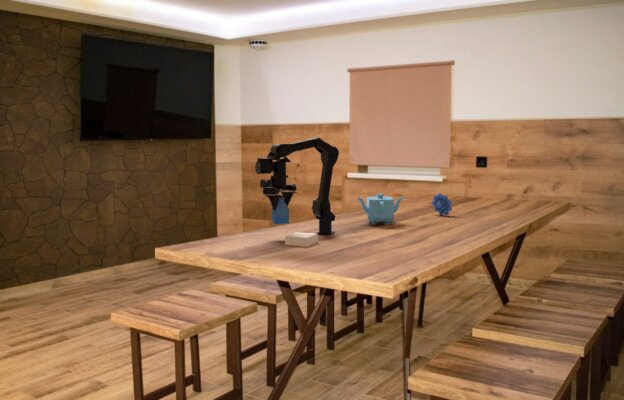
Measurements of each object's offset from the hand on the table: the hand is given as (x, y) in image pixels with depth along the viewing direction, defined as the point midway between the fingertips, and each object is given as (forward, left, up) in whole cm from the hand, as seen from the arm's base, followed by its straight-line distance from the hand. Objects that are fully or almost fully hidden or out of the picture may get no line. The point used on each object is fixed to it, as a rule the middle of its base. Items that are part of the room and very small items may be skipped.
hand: (280, 209), depth 258 cm
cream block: (+6, +14, -13) cm, 20 cm away
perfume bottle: (0, 0, -6) cm, 6 cm away
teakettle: (-59, +22, -13) cm, 64 cm away
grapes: (-96, +42, -13) cm, 106 cm away
